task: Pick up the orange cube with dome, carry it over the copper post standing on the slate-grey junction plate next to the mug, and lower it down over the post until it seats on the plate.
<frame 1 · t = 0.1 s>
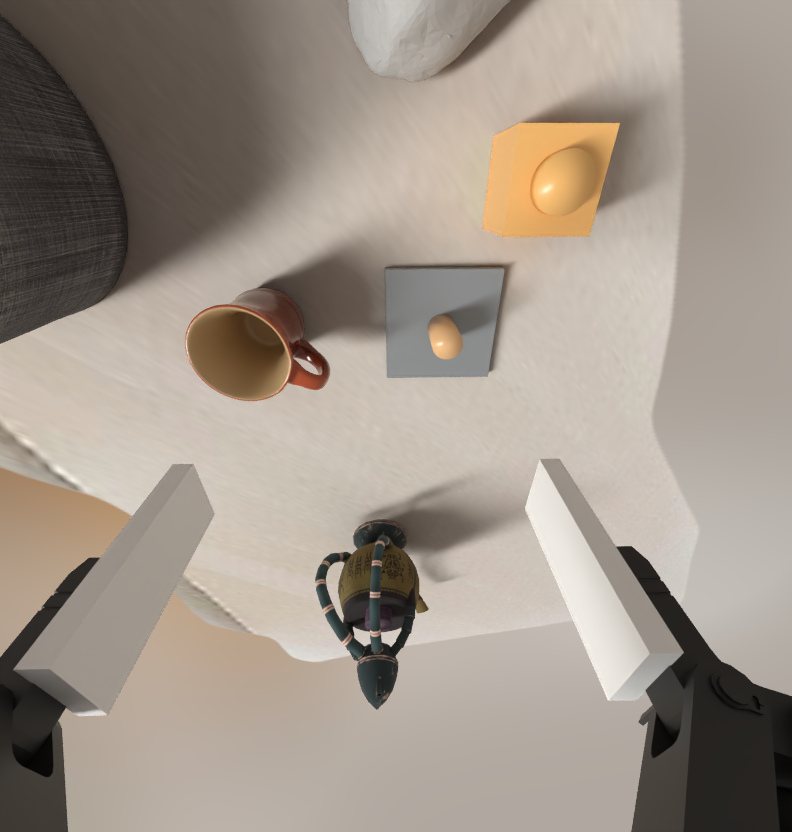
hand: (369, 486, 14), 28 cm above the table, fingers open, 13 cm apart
orange cube with dome: (525, 185, 32), on the table
mug: (287, 325, 39), on the table
teapot: (390, 548, 61), on the table
junction plate: (439, 324, 39), on the table
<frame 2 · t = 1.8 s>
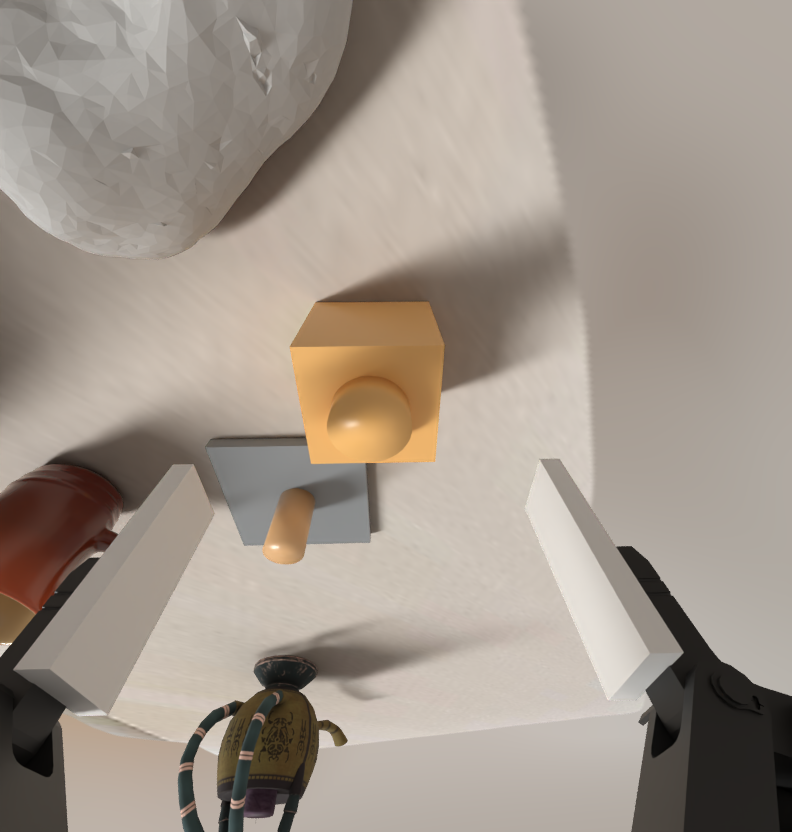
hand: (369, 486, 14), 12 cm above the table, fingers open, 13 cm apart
orange cube with dome: (374, 354, 23), on the table
mug: (105, 493, 30), on the table
teapot: (301, 675, 53), on the table
decorative stone: (183, 62, 16), on the table
junction plate: (299, 492, 30), on the table
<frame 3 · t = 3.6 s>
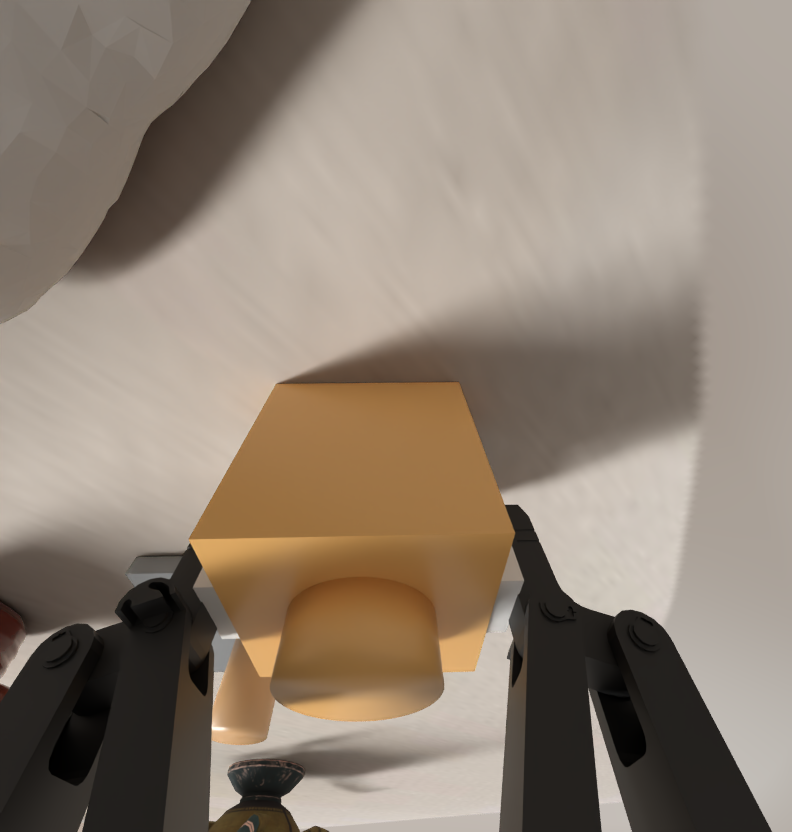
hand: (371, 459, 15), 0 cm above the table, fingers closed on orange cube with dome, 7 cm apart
orange cube with dome: (371, 453, 15), on the table, touching gripper
mug: (2, 614, 22), on the table
teapot: (285, 774, 44), on the table
junction plate: (270, 611, 22), on the table
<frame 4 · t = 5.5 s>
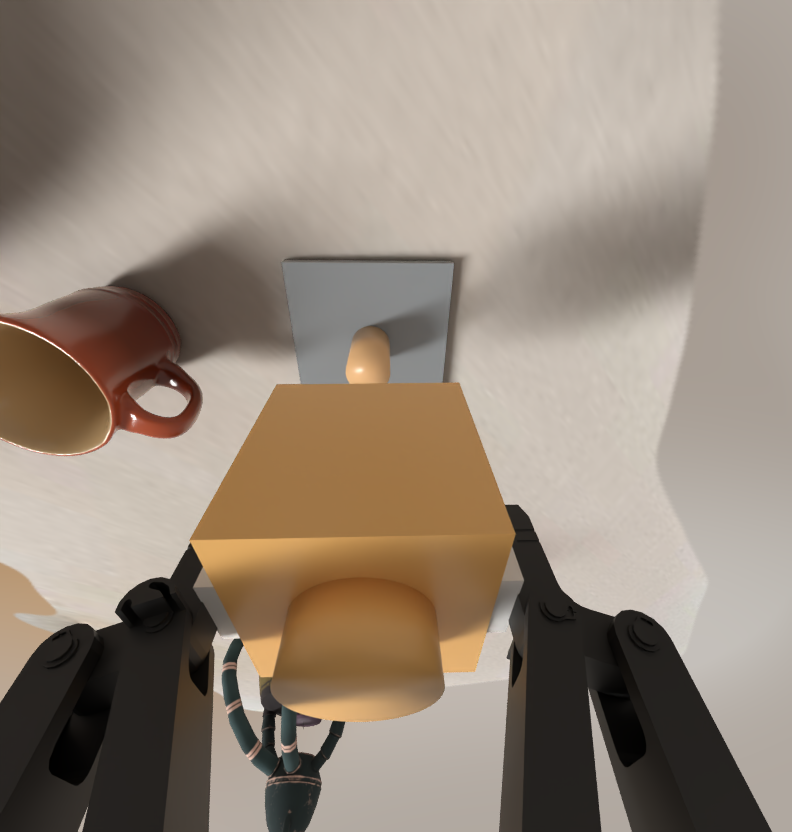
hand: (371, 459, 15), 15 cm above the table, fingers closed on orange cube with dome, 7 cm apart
orange cube with dome: (371, 454, 15), point 15 cm above the table, touching gripper
mug: (161, 338, 28), on the table
teapot: (338, 600, 50), on the table
junction plate: (371, 339, 28), on the table
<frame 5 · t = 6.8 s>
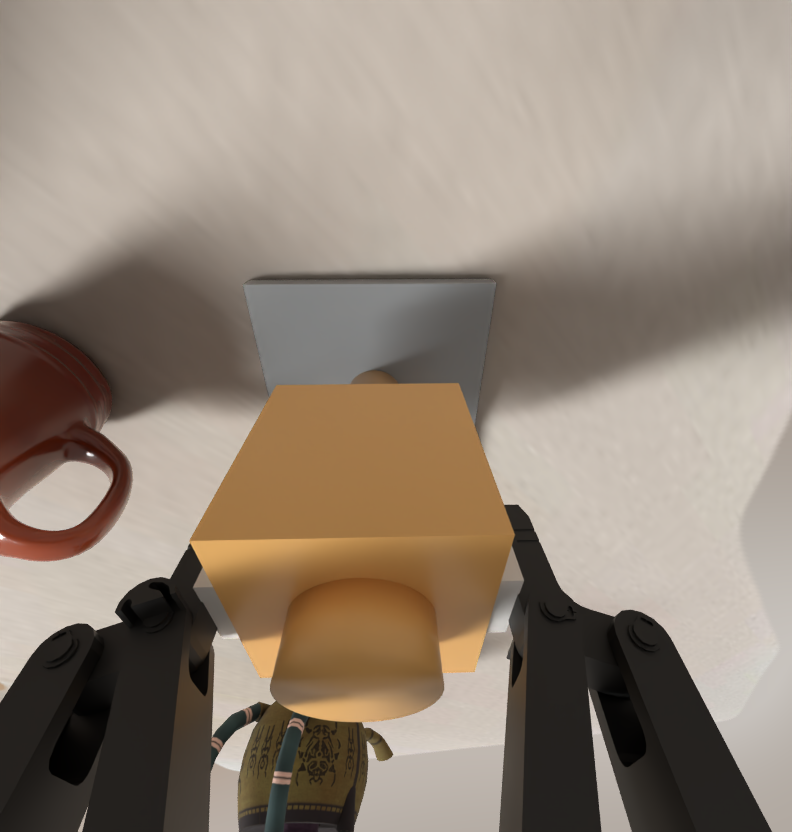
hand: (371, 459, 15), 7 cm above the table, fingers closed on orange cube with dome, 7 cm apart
orange cube with dome: (371, 454, 15), point 6 cm above the table, touching gripper
mug: (86, 387, 20), on the table
teapot: (337, 672, 43), on the table
junction plate: (375, 385, 20), on the table
when the fingers open (3 cm above the table, at t = 7.9 s): orange cube with dome drops 1 cm, resting on junction plate.
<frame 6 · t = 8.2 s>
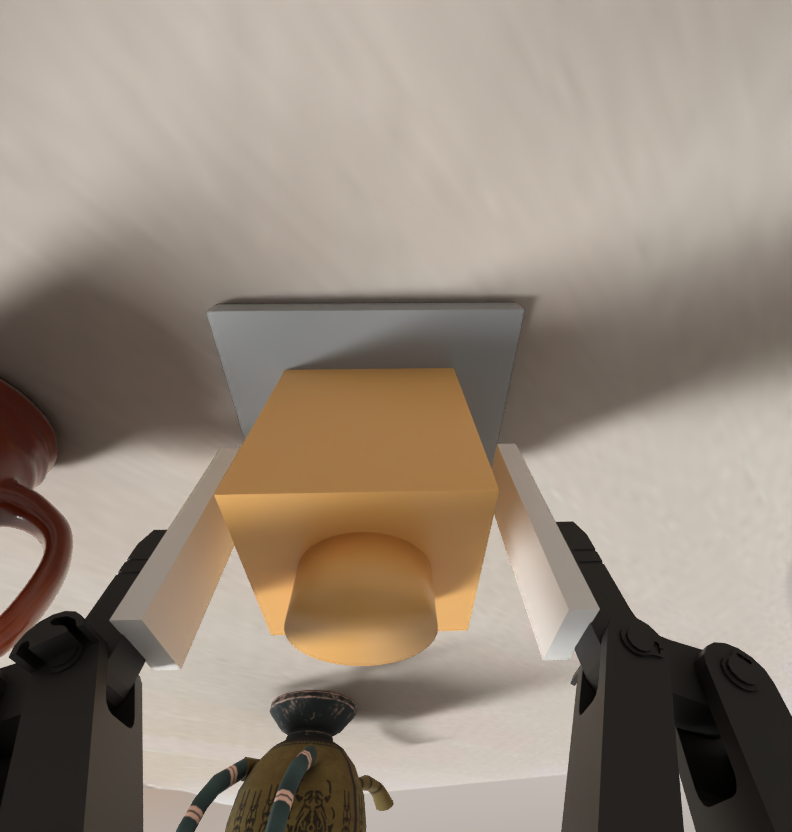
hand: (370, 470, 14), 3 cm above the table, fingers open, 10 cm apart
orange cube with dome: (372, 436, 16), point 1 cm above the table, touching junction plate
mug: (27, 427, 17), on the table
teapot: (332, 715, 39), on the table
junction plate: (373, 425, 17), on the table
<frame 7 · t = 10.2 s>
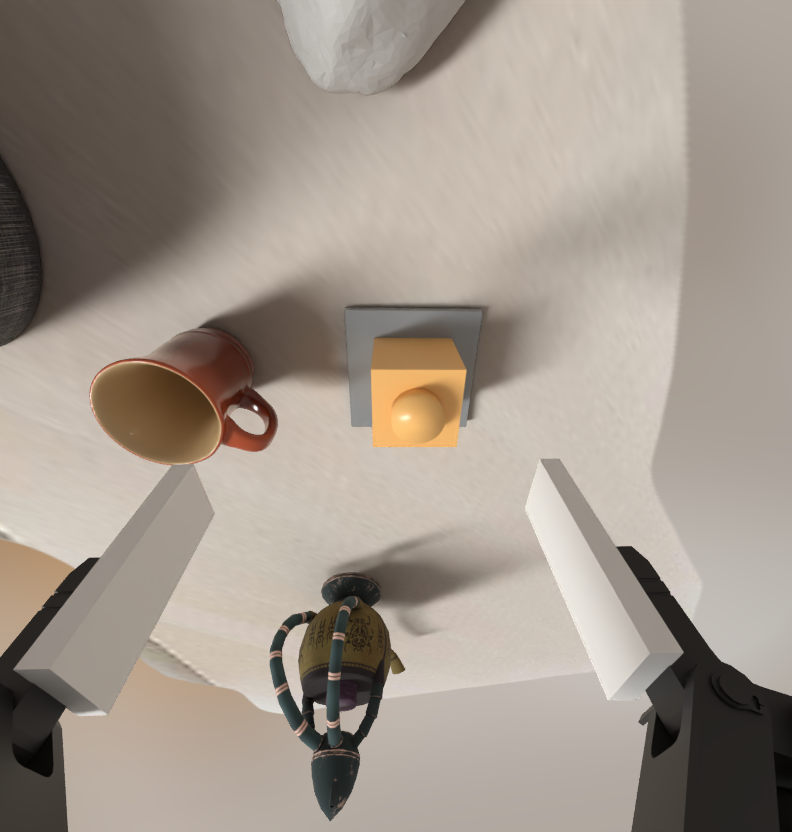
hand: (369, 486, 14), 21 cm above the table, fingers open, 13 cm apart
orange cube with dome: (411, 373, 33), point 1 cm above the table, touching junction plate
mug: (236, 368, 34), on the table
teapot: (363, 601, 55), on the table
junction plate: (410, 370, 34), on the table
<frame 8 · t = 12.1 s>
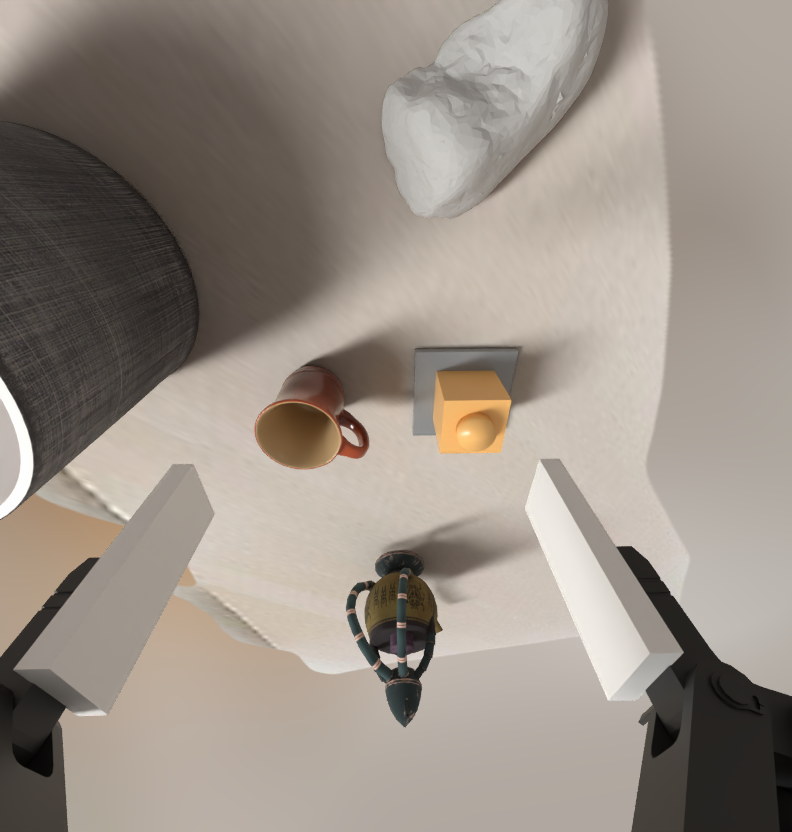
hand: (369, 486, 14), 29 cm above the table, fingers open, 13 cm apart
planter: (74, 279, 36), on the table
orange cube with dome: (462, 395, 44), point 1 cm above the table, touching junction plate
mug: (328, 393, 44), on the table
teapot: (407, 574, 66), on the table
decorative stone: (473, 110, 30), on the table
junction plate: (460, 392, 44), on the table
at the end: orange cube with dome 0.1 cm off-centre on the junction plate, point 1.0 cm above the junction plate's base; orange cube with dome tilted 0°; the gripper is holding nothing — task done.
